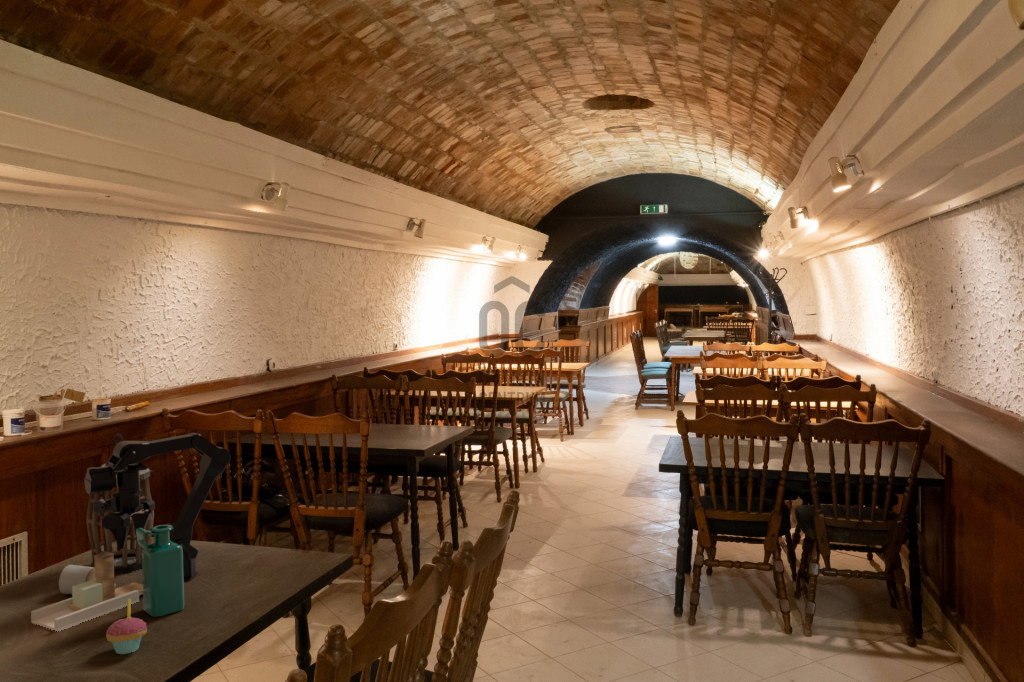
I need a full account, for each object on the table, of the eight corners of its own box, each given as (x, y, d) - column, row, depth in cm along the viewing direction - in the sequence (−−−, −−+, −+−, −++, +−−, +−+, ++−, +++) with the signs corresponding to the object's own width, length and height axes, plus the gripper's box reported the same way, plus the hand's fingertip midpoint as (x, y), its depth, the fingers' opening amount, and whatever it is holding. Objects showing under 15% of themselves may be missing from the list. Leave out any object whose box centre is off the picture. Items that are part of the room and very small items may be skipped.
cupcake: (116, 642, 189) (114, 592, 188) (153, 641, 190) (152, 591, 189) (100, 659, 180) (98, 606, 180) (139, 657, 181) (138, 605, 180)
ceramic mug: (87, 598, 216) (87, 570, 216) (58, 598, 217) (57, 569, 216) (109, 585, 227) (108, 558, 226) (81, 584, 227) (80, 557, 227)
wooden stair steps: (134, 585, 223) (132, 541, 222) (151, 590, 219) (150, 545, 218) (69, 608, 207) (67, 560, 206) (87, 614, 203) (85, 565, 202)
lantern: (171, 557, 250) (167, 429, 248) (128, 578, 231) (123, 440, 229) (117, 553, 254) (113, 427, 252) (70, 573, 236) (66, 438, 233)
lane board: (113, 594, 219) (113, 583, 219) (139, 601, 214) (138, 590, 214) (31, 623, 200) (31, 611, 200) (57, 632, 195) (57, 620, 194)
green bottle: (173, 600, 214) (171, 519, 213) (187, 609, 208) (184, 525, 207) (135, 611, 208) (133, 527, 206) (148, 620, 201) (145, 533, 200)
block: (91, 599, 210) (90, 580, 210) (103, 602, 208) (102, 583, 208) (72, 605, 206) (72, 586, 206) (84, 609, 204) (83, 589, 203)
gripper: (117, 479, 230) (118, 533, 231) (80, 495, 212) (82, 554, 213) (155, 479, 230) (157, 533, 231) (121, 496, 211) (123, 554, 212)
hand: (130, 543), depth 222 cm, fingers open, 9 cm apart
